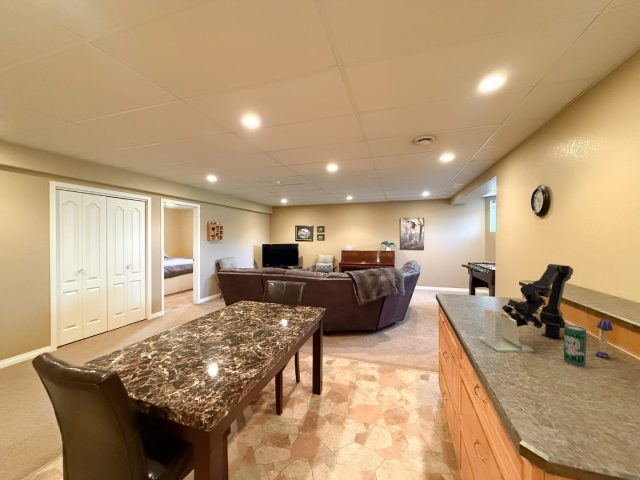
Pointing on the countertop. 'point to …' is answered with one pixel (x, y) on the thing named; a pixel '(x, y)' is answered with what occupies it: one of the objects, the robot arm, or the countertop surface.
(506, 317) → the hinged cream panel
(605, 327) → the toy lamp
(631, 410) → the countertop surface
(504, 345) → the pale green base plate
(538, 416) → the countertop surface
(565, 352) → the can
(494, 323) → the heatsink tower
